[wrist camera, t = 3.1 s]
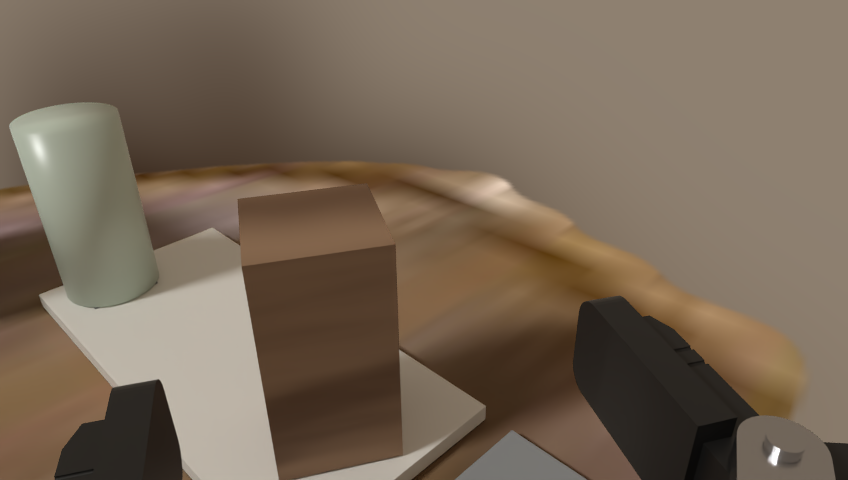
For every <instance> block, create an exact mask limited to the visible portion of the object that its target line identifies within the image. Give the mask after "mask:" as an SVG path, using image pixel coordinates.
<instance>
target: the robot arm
mask: <svg viewBox="0 0 848 480" xmlns="http://www.w3.org/2000/svg"><path fill="white" fill-rule="evenodd" d="M573 369H574V375H575V379H576V382H577V385H578V387H579V389H580V391H581V393H582V394H583V396H584V397H585V399H586V400H587V402H588V403H589V405H590V406H591V407H592V409H593V410H594V412H595V413H596V415H597V416H598V418H599V419H600V420H601V422H602V423H603V425H604V426H605V428H606V429H607V431H608V432H609V433H610V435H611V436H612V438H613V439H614V441H615V442H616V444H617V445H618V446H619V448H620V449H621V451H622V452H623V454H624V455H625V456H626V458H627V459H628V461H629V462H630V464H631V465H632V467H633V468H634V469H635V471H636V472H637V474H638V475H639V477H640V478H641V480H848V444H845V443H826V442H823V441H822V440H821V439H820V438H819V437H818V436H816V435H815V434H814V433H813V432H811V431H810V430H808V429H806V428H805V427H804V426H801V425H800V424H798V423H795V422H793V421H790V420H788V419H784V418H781V417H775V416H759V415H758V414H757V413H756V412H755V411H754V410H753V409H752V408H751V407H750V406H749V405H748V404H747V403H746V402H745V401H744V400H743V399H742V398H741V397H740V396H739V395H738V394H737V393H736V392H735V391H734V390H733V389H732V388H731V387H730V386H729V385H728V383H727V382H726V381H725V380H724V379H723V378H722V377H721V376H720V375H719V374H718V373H717V372H716V371H715V370H714V369H713V368H712V367H711V366H710V365H709V364H705V363H704V359H703V358H702V357H701V356H700V355H699V354H698V353H697V352H696V351H695V350H694V349H693V350H691V348H690V345H689V344H688V343H687V342H686V341H685V340H684V339H683V338H682V337H681V336H680V335H679V334H678V333H677V332H676V331H675V330H674V329H673V328H671V327H669V326H667V325H665V324H663V323H662V322H660V321H658V320H656V319H654V318H653V317H651V316H645V317H642V316H641V315H640V314H639V313H638V312H637V311H636V310H635V309H634V308H633V307H632V306H631V305H630V303H629V302H628V301H627V300H626V299H625V298H623V297H621V296H614V297H608V298H603V299H597V300H591V301H586V302H583V303H582V305H581V307H580V310H579V317H578V325H577V334H576V342H575V350H574V358H573ZM54 477H55V480H182V458H181V451H180V445H179V441H178V437H177V434H176V430H175V427H174V423H173V420H172V416H171V412H170V409H169V405H168V402H167V398H166V395H165V391H164V388H163V385H162V383H161V381H160V380H159V379H157V380H151V381H146V382H140V383H134V384H129V385H123V386H118V387H114V388H113V389H112V391H111V393H110V398H109V402H108V407H107V411H106V416H105V420H100V421H95V422H89V423H84V424H82V425H81V426H80V427H79V429H78V430H77V431H76V432H75V434H74V435H73V436H72V437H71V439H70V440H69V441H68V443H67V444H66V445H65V446H64V448H63V449H62V451H61V455H60V459H59V462H58V466H57V469H56V473H55V476H54Z"/></svg>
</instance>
